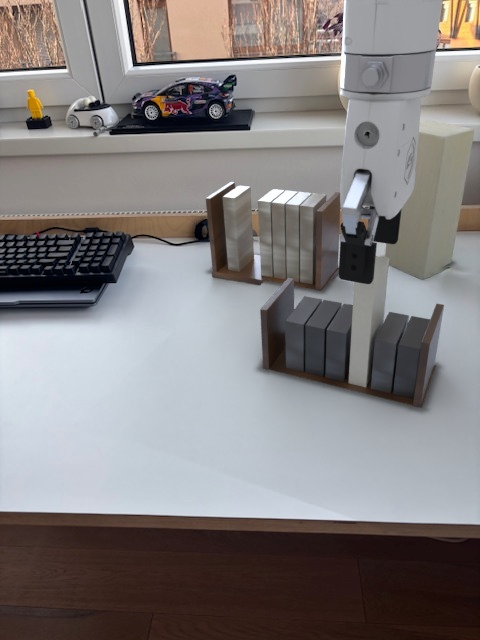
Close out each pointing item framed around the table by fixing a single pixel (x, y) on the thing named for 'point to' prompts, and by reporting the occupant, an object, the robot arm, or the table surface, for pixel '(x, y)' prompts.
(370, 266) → the robot arm
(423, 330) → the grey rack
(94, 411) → the table surface
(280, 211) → the brown rack
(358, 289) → the white book
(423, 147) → the tall beige block
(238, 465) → the table surface
